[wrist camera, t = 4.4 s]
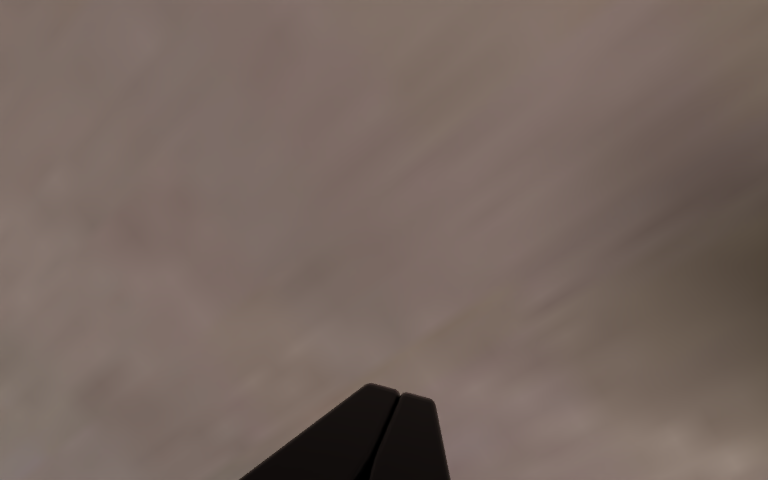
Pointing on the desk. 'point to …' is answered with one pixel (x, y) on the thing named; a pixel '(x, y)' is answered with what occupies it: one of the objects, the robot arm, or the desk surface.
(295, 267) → the desk surface
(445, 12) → the desk surface
